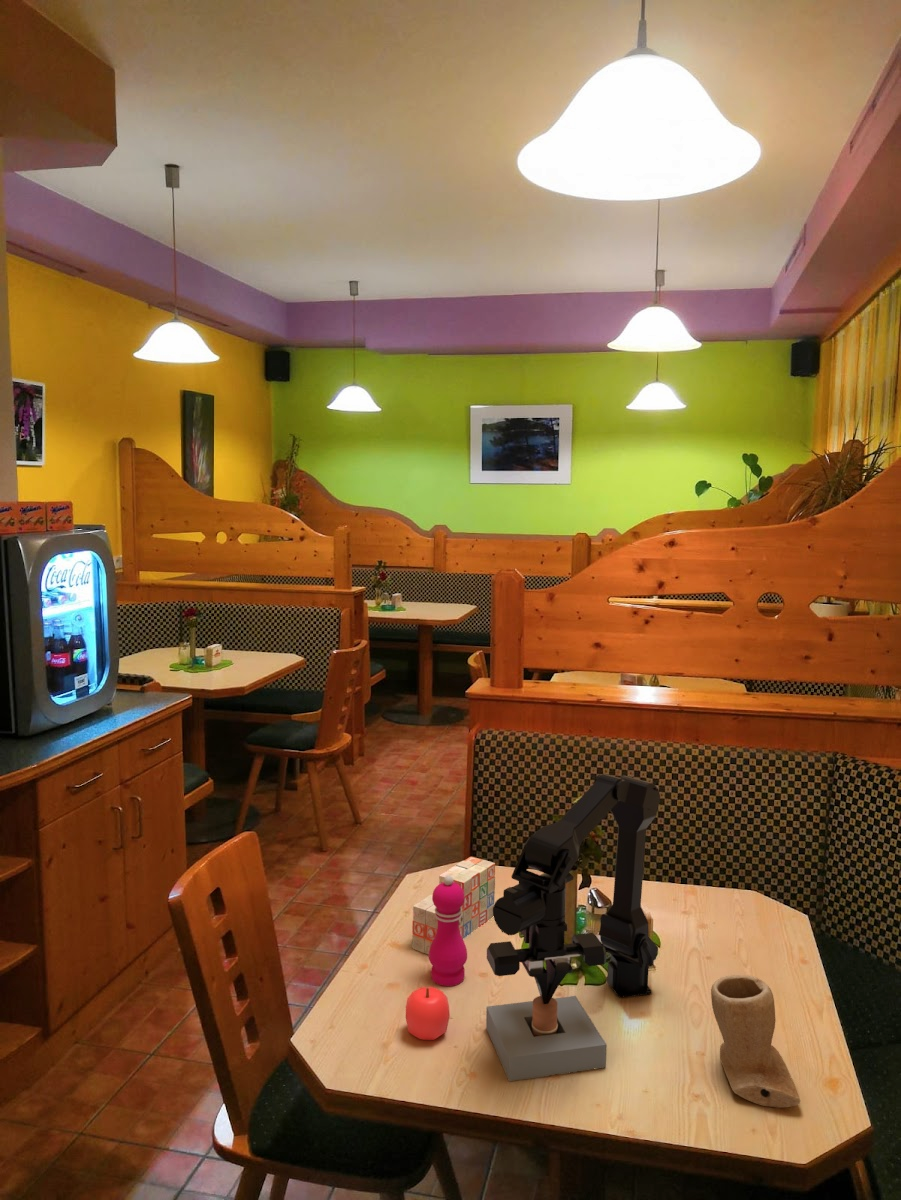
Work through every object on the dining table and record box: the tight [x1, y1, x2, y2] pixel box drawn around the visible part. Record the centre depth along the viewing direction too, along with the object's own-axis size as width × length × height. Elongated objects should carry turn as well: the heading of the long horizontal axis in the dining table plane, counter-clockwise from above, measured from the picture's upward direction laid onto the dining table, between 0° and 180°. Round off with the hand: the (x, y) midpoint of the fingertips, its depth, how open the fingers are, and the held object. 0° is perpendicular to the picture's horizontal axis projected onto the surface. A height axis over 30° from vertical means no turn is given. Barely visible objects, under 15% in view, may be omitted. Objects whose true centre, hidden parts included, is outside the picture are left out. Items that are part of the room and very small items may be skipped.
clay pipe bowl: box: [710, 974, 801, 1108], centre depth 140 cm, size 15×12×15 cm
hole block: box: [485, 995, 608, 1082], centre depth 148 cm, size 16×14×4 cm
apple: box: [405, 986, 450, 1041], centre depth 152 cm, size 8×8×8 cm
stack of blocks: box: [411, 856, 496, 956], centre depth 186 cm, size 21×6×12 cm, turn 146°
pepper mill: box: [428, 876, 468, 987], centre depth 168 cm, size 7×7×20 cm
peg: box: [532, 995, 558, 1037], centre depth 148 cm, size 4×4×8 cm
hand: (545, 1002), depth 147 cm, fingers closed, pressing on peg
